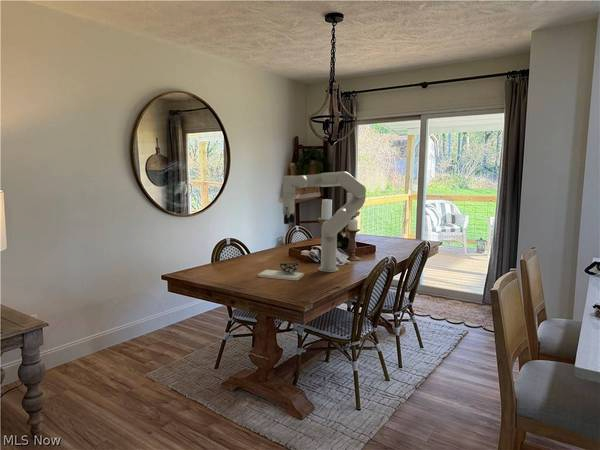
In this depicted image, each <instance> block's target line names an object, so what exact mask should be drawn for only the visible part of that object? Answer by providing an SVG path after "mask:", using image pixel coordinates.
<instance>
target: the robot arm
mask: <svg viewBox="0 0 600 450" xmlns="http://www.w3.org/2000/svg"><path fill="white" fill-rule="evenodd" d="M282 183H283V184H282V192H283V193H282V198H283V200H282V214H283V224H284V225H289V224H290V223H295V209H296V208H295V199H296V188H310V187H311V188H313V187H323V188H327V187H342V188H343V189H345V190H346V191H347V192H349V193H350V194H351V197H350V199H349V200H347V202H346V203H345V204H344V205H343V206H341V207H340V208H339V209H338V210H336V212H335V213H334V215H332V216H330V217H329V218H328V219H327V220H325V221H324V222H323V223H322V224H321V248H320V252H321V253H320V266H319V267H318V271H320V272H324V273H336V272H339V267H338V266H337V250H338V249H337V247H338V245H337V244H338V233H339V232H341V231H342V230H343V229H344V228H345V227H346V226H348V224H349V223H350V222H351V218H353V217H354V216H355V214H357V213H358V212H359V211H360V210H361V208H362V207H363V206H364V204H365V201H366V197H367V196H366V195H367V194H366V193H367V188H366V186H365V185H364V184H363V183H362V182H360V181H359V180H357V179H356V178H355V177H354V176H352V174H351V173H349V172H348V171H336V172H334V171H332V172H321V173H318V174H306V175H305V174H303V175H302V174H301V175H284V176H283V177H282Z"/></svg>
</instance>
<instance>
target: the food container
mask: <svg viewBox="0 0 600 450" xmlns="http://www.w3.org/2000/svg"><path fill="white" fill-rule="evenodd" d="M300 265H301V263H300V262H298V263H291V262H290V263H289V262H288V263H281V262H280V263H278V267H279V269H280V271H283V272H284V273H287V274H292V273H295V272H296V273H297V272H298V270H299V268H300Z"/></svg>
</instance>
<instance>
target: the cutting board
mask: <svg viewBox="0 0 600 450" xmlns="http://www.w3.org/2000/svg"><path fill="white" fill-rule="evenodd" d="M304 276H305V274H304V272H297V271H296V272H295V273H292V274H287V273H284V272H283V271H282V270H273V269H265V270H263V271H261V272H260V273H258V277H259V278H269V279H279V280H287V281H288V280H289V281H298V280H300V279H301V278H303V277H304Z"/></svg>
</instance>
